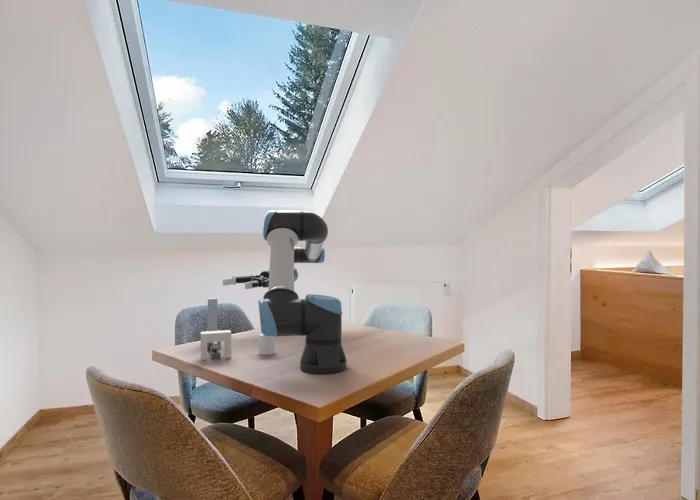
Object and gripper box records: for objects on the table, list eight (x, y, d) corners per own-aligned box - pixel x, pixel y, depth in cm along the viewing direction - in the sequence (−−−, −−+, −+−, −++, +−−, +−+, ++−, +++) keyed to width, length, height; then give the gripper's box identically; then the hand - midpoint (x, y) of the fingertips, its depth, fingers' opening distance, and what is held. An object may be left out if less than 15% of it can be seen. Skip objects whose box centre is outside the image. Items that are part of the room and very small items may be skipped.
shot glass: (253, 352, 159) (253, 333, 159) (269, 349, 164) (269, 331, 164) (264, 356, 155) (264, 336, 154) (280, 352, 159) (280, 333, 159)
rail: (220, 358, 151) (220, 352, 151) (211, 359, 150) (211, 353, 150) (216, 343, 173) (216, 338, 173) (208, 344, 172) (208, 339, 172)
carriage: (220, 348, 165) (221, 301, 165) (206, 349, 163) (206, 301, 163) (219, 342, 176) (219, 297, 175) (205, 343, 174) (205, 298, 173)
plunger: (221, 351, 151) (221, 342, 151) (211, 352, 150) (211, 343, 150) (219, 346, 159) (219, 337, 159) (210, 346, 158) (210, 338, 158)
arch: (231, 357, 152) (231, 332, 152) (200, 360, 149) (201, 334, 148) (230, 355, 156) (230, 330, 156) (200, 357, 152) (200, 331, 152)
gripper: (291, 289, 191) (255, 296, 174) (251, 283, 205) (214, 289, 188) (291, 272, 190) (255, 278, 173) (251, 267, 204) (214, 272, 187)
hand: (234, 284), depth 180 cm, fingers open, 13 cm apart
